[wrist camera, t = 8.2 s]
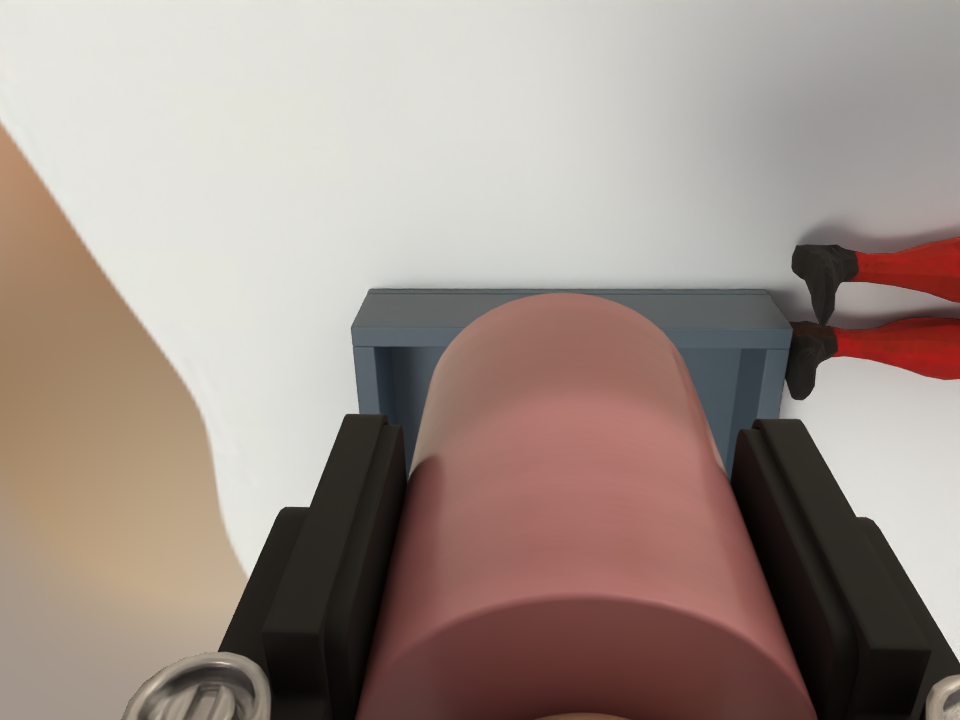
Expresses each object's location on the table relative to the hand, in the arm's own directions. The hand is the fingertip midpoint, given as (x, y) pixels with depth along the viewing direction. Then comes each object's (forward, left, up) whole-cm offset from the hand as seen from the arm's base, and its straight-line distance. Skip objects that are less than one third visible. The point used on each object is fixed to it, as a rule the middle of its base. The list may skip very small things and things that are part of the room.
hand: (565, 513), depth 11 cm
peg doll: (0, 0, -3) cm, 3 cm away
